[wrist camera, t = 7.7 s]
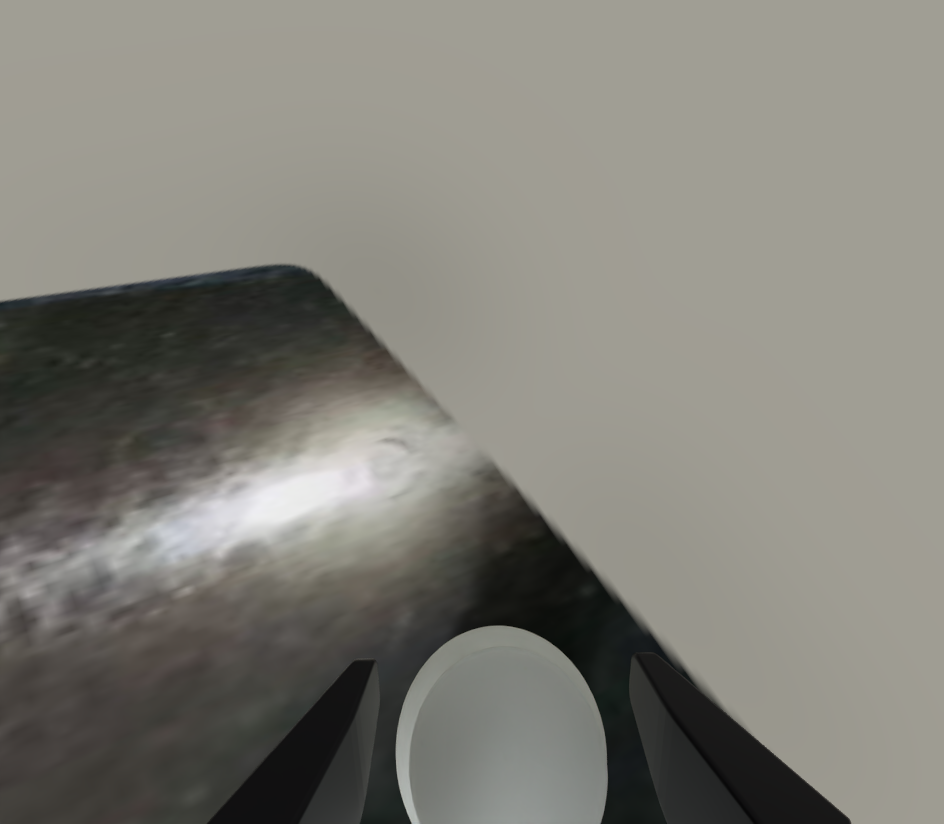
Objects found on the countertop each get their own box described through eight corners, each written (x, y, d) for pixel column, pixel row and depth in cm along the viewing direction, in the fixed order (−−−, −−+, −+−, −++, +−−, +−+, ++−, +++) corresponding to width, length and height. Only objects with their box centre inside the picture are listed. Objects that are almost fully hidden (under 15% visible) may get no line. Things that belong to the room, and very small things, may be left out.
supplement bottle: (404, 783, 16) (325, 894, 8) (445, 625, 19) (417, 584, 11) (552, 833, 15) (634, 1012, 7) (572, 661, 18) (650, 647, 10)
